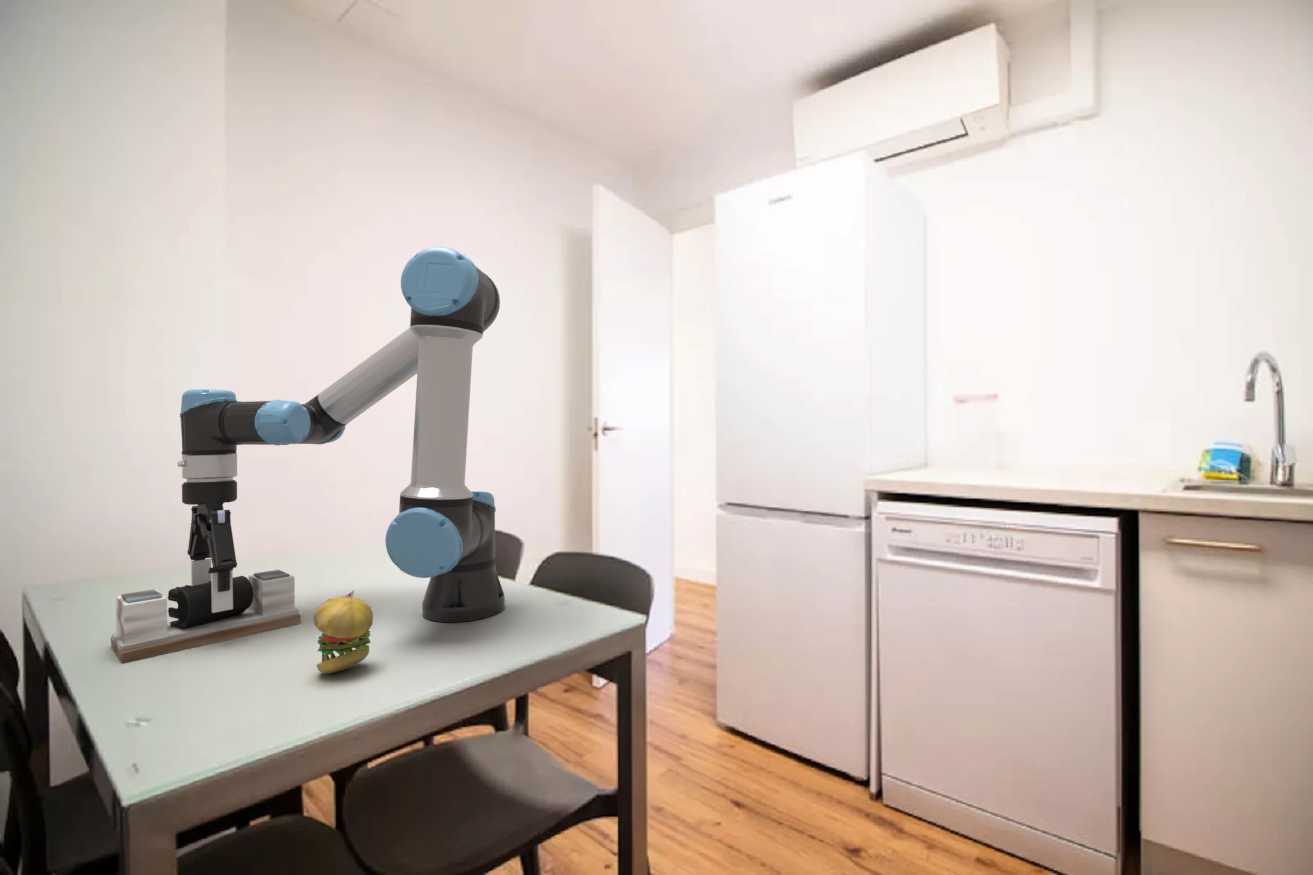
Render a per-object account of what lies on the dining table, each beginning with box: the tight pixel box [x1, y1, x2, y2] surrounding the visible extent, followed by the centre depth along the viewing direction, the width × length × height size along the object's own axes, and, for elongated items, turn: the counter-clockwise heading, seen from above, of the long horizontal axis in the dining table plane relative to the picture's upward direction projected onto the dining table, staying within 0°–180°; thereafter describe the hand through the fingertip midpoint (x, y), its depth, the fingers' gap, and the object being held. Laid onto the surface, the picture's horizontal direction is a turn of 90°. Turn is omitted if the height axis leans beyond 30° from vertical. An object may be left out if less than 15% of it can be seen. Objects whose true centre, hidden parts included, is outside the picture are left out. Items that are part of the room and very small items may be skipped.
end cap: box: [167, 575, 253, 629], centre depth 99 cm, size 10×7×7 cm
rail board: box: [110, 569, 302, 664], centre depth 99 cm, size 11×24×9 cm, turn 140°
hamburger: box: [313, 589, 374, 674], centre depth 83 cm, size 8×7×12 cm
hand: (211, 603), depth 99 cm, fingers open, 13 cm apart
